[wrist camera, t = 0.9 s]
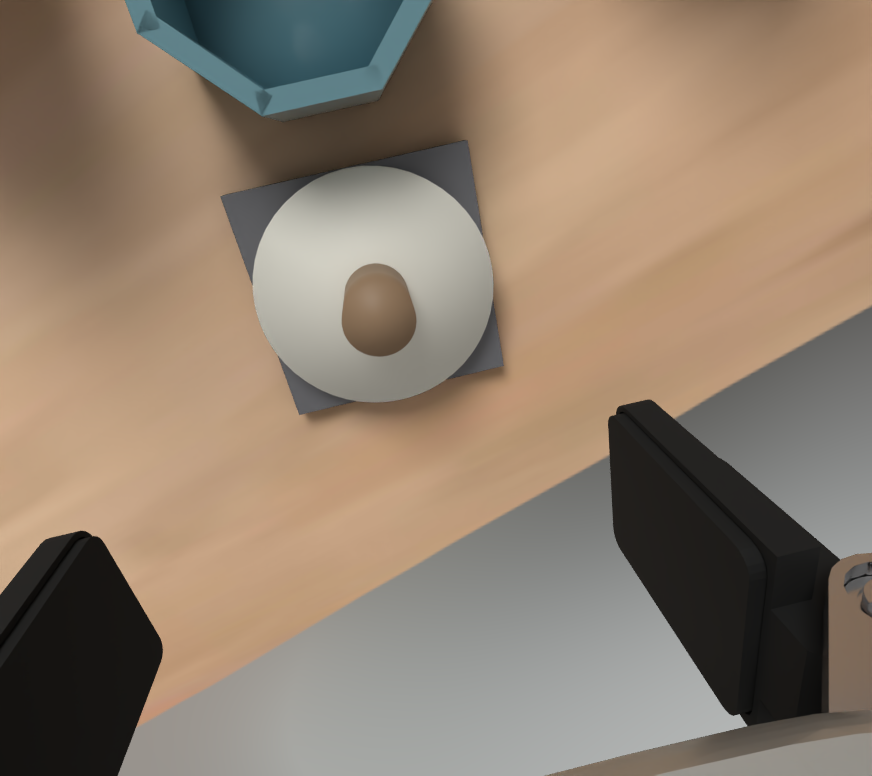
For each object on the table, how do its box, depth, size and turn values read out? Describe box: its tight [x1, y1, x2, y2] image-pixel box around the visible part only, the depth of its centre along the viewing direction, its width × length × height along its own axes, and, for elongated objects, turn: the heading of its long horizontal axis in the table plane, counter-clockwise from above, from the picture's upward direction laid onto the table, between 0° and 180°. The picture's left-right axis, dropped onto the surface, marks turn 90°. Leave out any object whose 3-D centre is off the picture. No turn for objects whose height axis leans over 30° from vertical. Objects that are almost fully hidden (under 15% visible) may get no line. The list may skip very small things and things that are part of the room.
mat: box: [221, 140, 504, 415], centre depth 28 cm, size 12×12×1 cm
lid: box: [253, 166, 494, 403], centre depth 25 cm, size 12×12×6 cm
